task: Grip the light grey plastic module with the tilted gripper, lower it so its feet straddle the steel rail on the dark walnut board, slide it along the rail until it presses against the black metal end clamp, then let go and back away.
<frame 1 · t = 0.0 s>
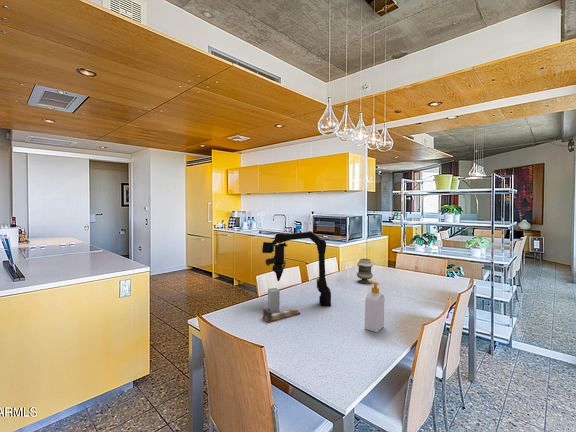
hand: (279, 278, 175), 15 cm above the table, tool pointing down, fingers open, 9 cm apart
stone urn vase: (364, 282, 223), on the table
module: (273, 310, 162), on the table
soap bottle: (373, 328, 142), on the table
rail board: (281, 316, 155), on the table
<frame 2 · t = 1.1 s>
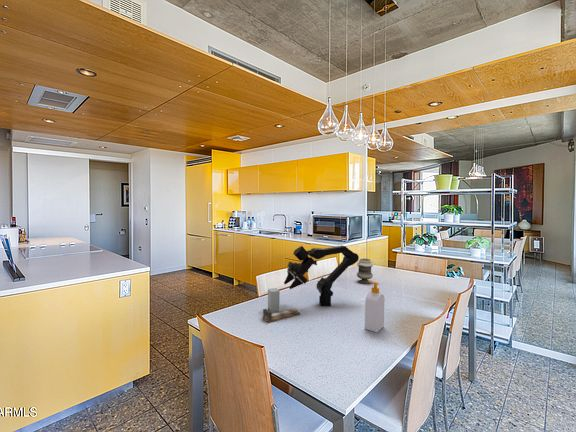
hand: (287, 286, 164), 13 cm above the table, tool tilted 45°, fingers open, 9 cm apart
nothing on the table moved.
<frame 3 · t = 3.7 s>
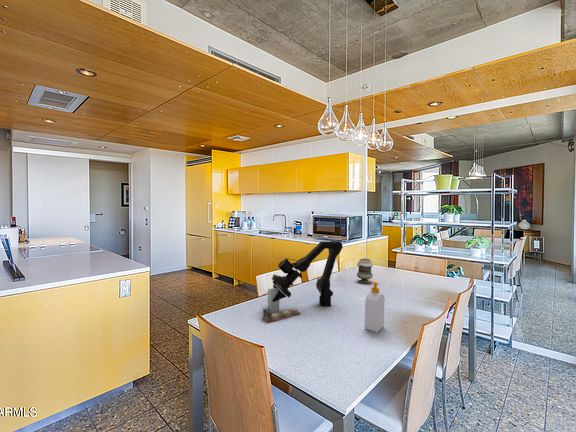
hand: (271, 299, 162), 7 cm above the table, tool tilted 45°, fingers closed on module, 6 cm apart
module: (273, 310, 162), on the table, touching gripper
everything else where it was.
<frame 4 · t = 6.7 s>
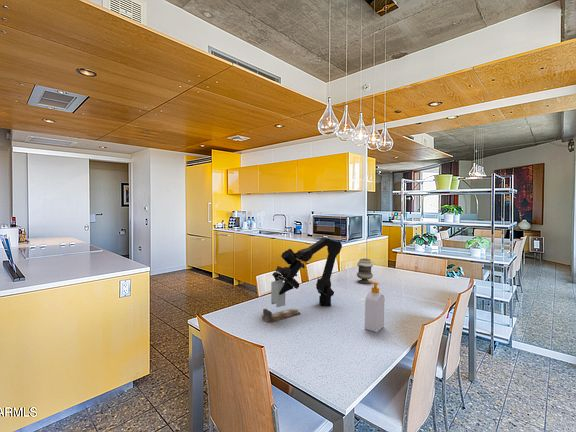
hand: (276, 292, 152), 13 cm above the table, tool tilted 45°, fingers closed on module, 6 cm apart
module: (278, 304, 153), point 7 cm above the table, touching gripper
everything else where it was.
when the fingers open (8 cm above the table, at t = 9.6 s): module stays where it is, resting on rail board.
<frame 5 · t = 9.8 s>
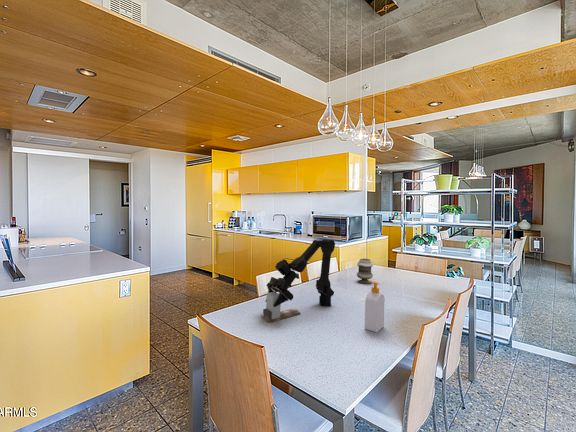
hand: (269, 304, 150), 8 cm above the table, tool tilted 45°, fingers open, 8 cm apart
module: (272, 316, 152), point 1 cm above the table, touching rail board
everything else where it was.
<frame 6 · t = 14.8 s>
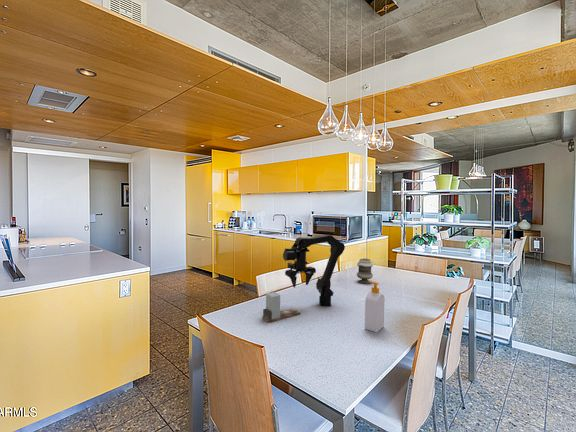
hand: (300, 286, 166), 13 cm above the table, tool pointing down, fingers open, 9 cm apart
nothing on the table moved.
at the end: module 0.1 cm from the target spot on the rail board, point 1.0 cm above the rail board's base; module tilted 0°; the gripper is holding nothing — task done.
